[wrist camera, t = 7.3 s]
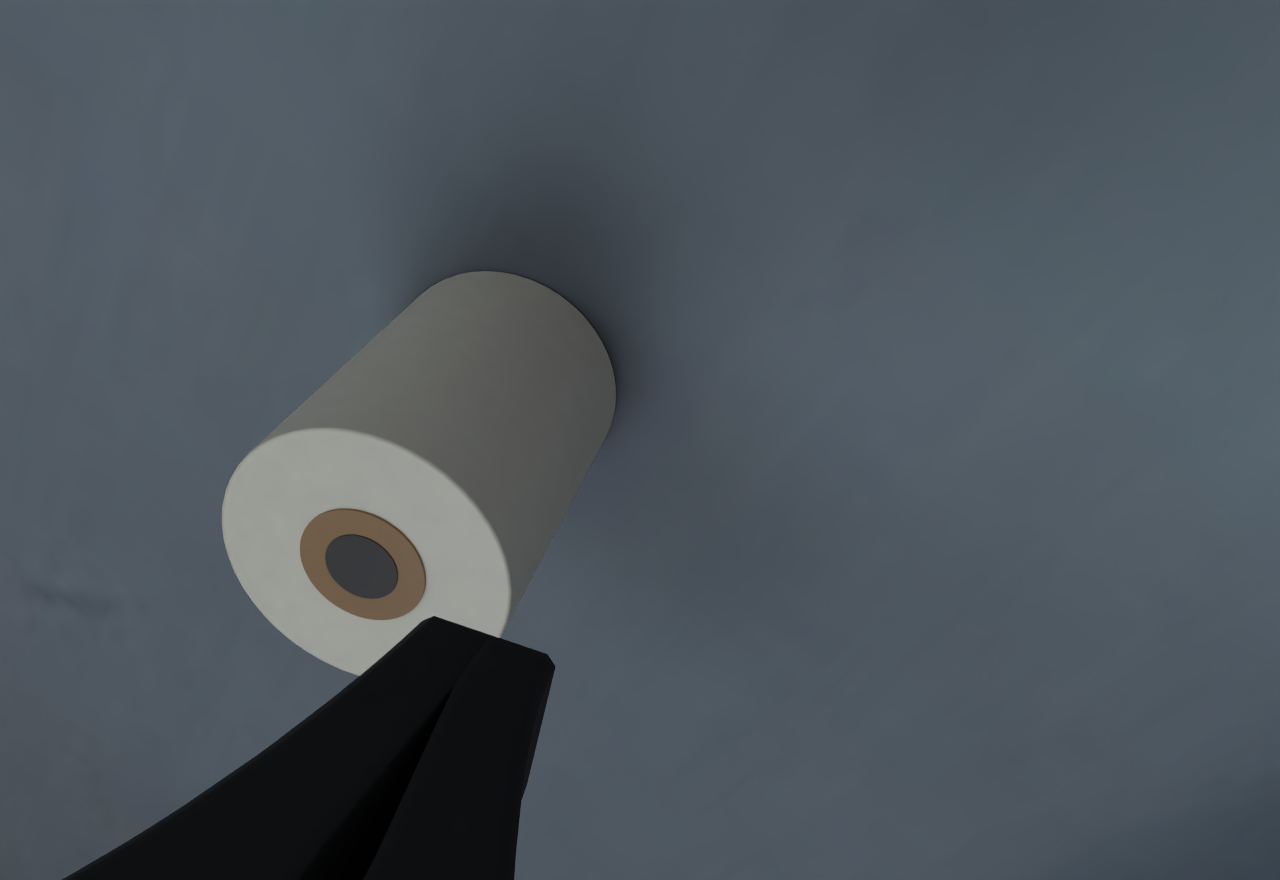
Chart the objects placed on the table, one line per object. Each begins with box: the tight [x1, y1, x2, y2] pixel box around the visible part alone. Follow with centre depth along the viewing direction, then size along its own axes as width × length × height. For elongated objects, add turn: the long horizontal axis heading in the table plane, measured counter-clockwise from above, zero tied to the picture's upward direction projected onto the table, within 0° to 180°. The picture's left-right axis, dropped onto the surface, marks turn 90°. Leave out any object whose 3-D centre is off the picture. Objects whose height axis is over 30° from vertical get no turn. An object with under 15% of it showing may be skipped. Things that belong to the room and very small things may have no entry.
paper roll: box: [222, 271, 616, 676], centre depth 18 cm, size 6×4×4 cm
